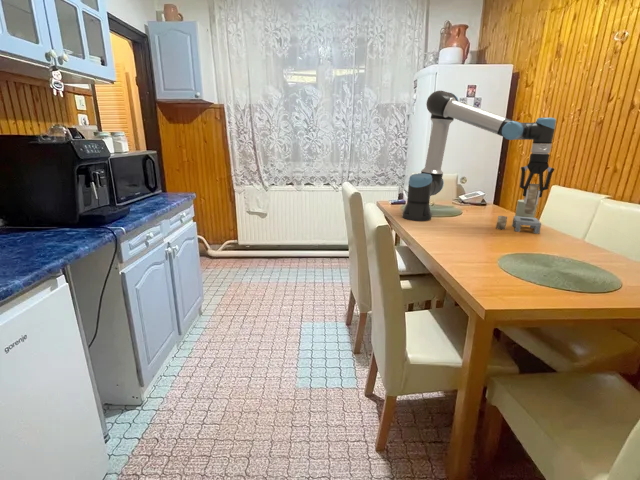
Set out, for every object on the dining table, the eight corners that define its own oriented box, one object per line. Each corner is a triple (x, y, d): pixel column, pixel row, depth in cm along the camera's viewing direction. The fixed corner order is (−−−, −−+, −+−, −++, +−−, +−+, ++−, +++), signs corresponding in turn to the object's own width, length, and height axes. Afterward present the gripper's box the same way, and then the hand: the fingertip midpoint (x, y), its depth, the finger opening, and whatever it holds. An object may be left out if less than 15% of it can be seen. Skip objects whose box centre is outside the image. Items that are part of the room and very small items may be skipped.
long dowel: (524, 213, 166) (530, 184, 162) (523, 212, 169) (528, 183, 165) (534, 214, 164) (540, 184, 160) (532, 212, 168) (538, 183, 164)
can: (537, 225, 178) (542, 202, 175) (519, 224, 178) (523, 201, 175) (527, 220, 187) (531, 198, 183) (510, 220, 187) (514, 198, 184)
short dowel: (496, 229, 170) (498, 217, 168) (495, 227, 173) (497, 215, 171) (505, 229, 168) (507, 217, 166) (504, 228, 172) (506, 216, 170)
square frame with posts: (515, 231, 166) (517, 221, 164) (512, 225, 177) (513, 216, 175) (539, 233, 162) (541, 223, 161) (534, 227, 173) (536, 218, 172)
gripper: (520, 153, 158) (511, 203, 165) (564, 154, 152) (553, 206, 159) (518, 152, 165) (509, 201, 172) (559, 153, 159) (549, 203, 166)
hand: (530, 203), depth 166 cm, fingers closed on long dowel, 4 cm apart
